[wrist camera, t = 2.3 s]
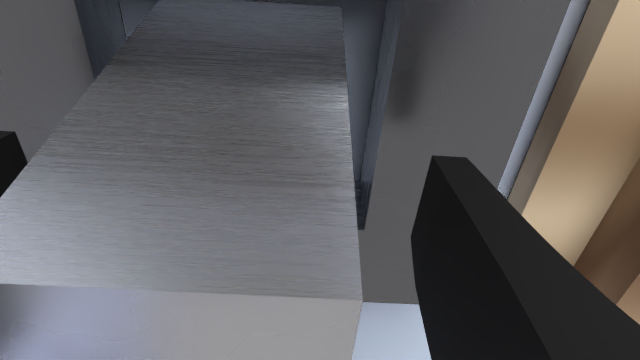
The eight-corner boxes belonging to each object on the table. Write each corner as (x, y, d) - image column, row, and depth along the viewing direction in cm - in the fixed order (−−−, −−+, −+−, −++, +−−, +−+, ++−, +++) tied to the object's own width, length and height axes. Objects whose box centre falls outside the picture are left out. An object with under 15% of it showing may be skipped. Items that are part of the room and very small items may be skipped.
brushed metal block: (328, 151, 13) (330, 465, 7) (184, 143, 13) (57, 456, 7) (341, 7, 11) (362, 300, 5) (162, -5, 11) (-67, 280, 4)
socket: (438, 255, 16) (451, 305, 14) (74, 237, 16) (46, 287, 14) (590, -207, 8) (650, -206, 7) (-115, -265, 8) (-223, -278, 6)
